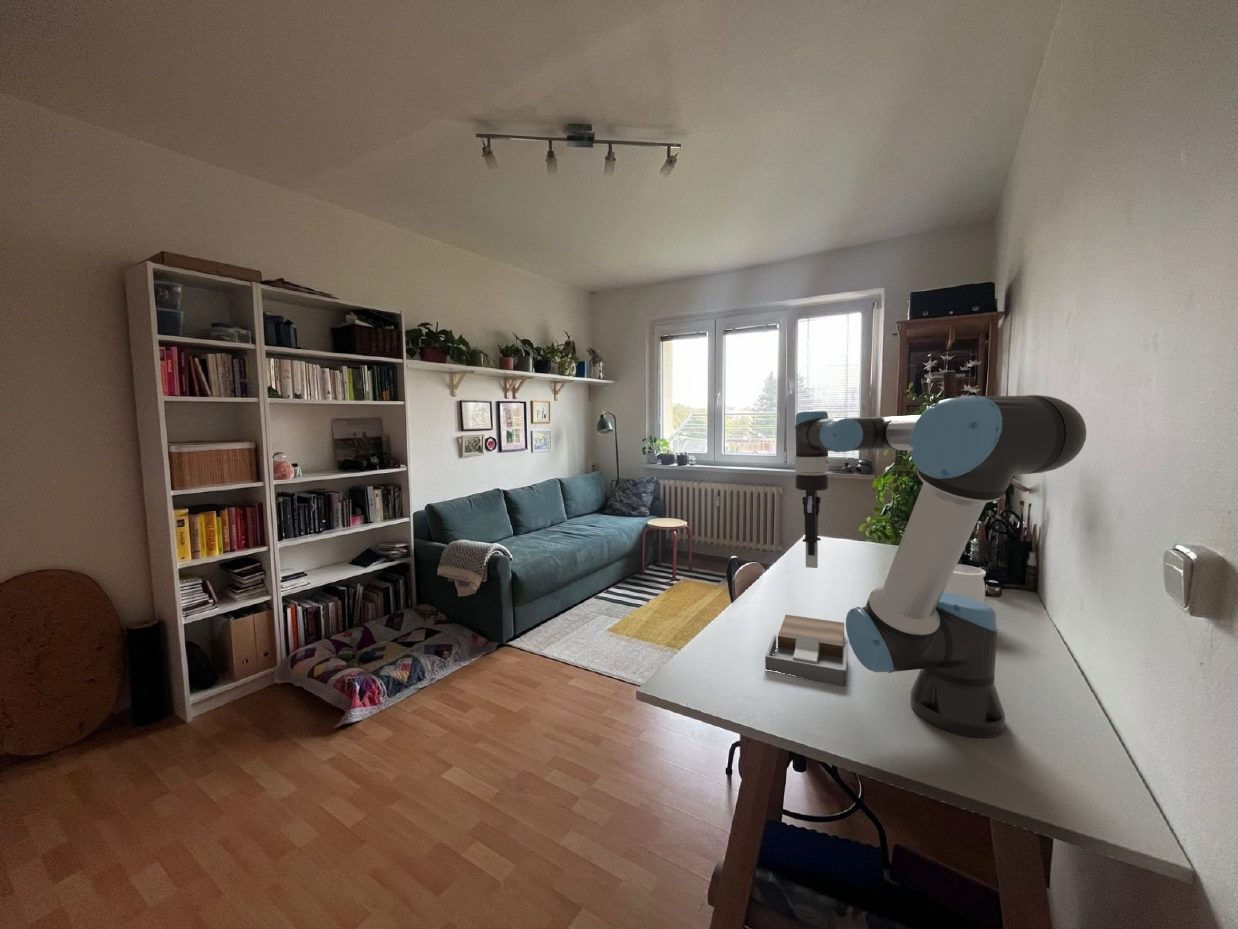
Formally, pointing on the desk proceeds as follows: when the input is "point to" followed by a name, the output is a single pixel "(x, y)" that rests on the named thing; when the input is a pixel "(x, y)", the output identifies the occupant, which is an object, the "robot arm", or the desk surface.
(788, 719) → the desk surface
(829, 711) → the desk surface
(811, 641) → the tile
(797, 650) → the light grey block
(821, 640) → the board
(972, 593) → the jar
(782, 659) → the tray
